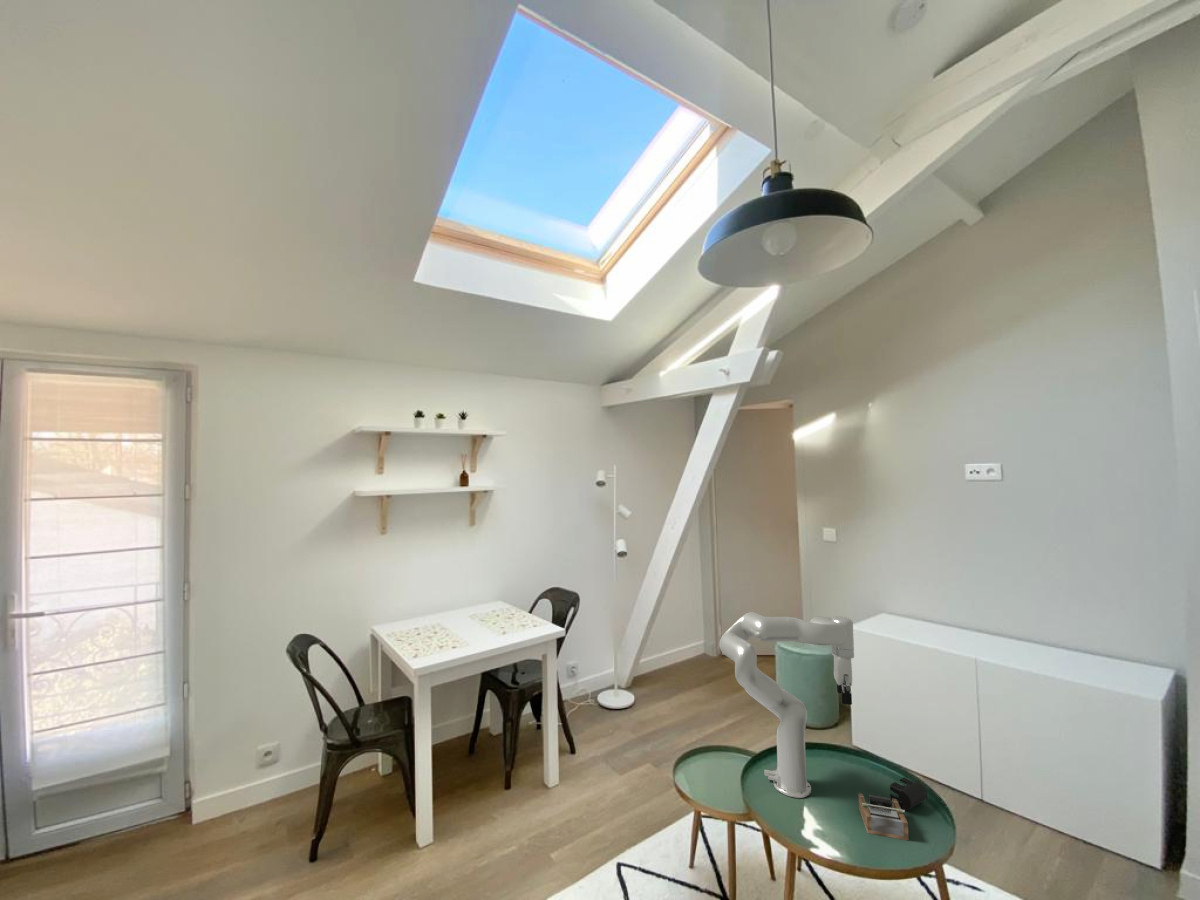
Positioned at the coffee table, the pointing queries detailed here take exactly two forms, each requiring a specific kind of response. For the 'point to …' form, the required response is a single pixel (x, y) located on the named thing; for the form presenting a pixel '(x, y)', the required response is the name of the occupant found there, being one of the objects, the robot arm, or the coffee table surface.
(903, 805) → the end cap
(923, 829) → the coffee table surface
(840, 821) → the coffee table surface
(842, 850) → the coffee table surface
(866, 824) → the wood and grey box
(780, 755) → the robot arm
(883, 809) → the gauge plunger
